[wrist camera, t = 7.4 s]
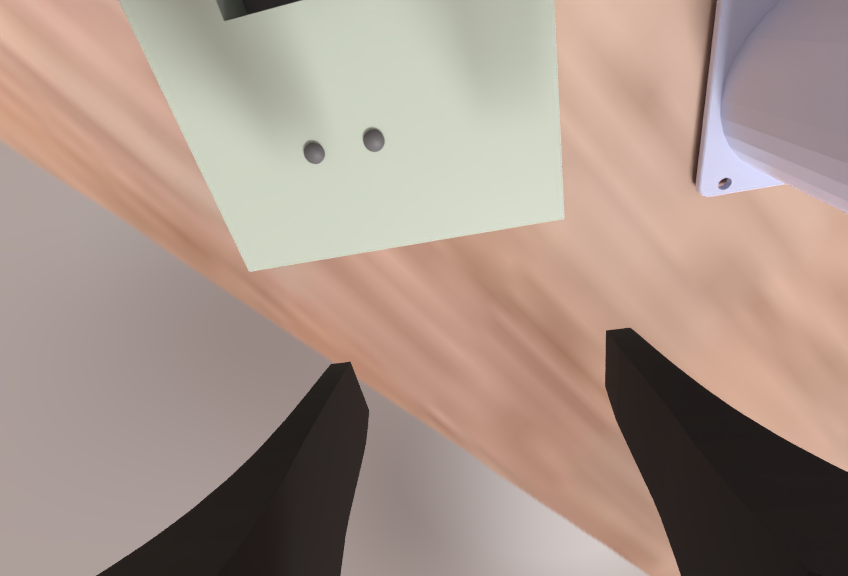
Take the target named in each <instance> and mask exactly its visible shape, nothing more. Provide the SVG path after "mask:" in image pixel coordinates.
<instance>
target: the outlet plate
mask: <svg viewBox="0 0 848 576" xmlns="http://www.w3.org/2000/svg"><path fill="white" fill-rule="evenodd" d="M119 2H120V4H121V6H122V8H123V11H124V13H125V15H126V17H127V19H128V21H129V23H130V25H131V27H132V29H133V31H134V33H135V35H136V38H137V40H138V42H139V44H140V46H141V48H142V50H143V52H144V54H145V56H146V58H147V60H148V62H149V65H150V67H151V69H152V71H153V73H154V75H155V77H156V79H157V81H158V83H159V85H160V87H161V89H162V92H163V94H164V96H165V98H166V100H167V102H168V104H169V106H170V108H171V110H172V112H173V114H174V117H175V119H176V121H177V123H178V125H179V127H180V129H181V131H182V133H183V135H184V137H185V139H186V141H187V144H188V146H189V148H190V150H191V152H192V154H193V156H194V158H195V160H196V162H197V164H198V166H199V168H200V171H201V173H202V175H203V177H204V179H205V181H206V183H207V185H208V187H209V189H210V191H211V193H212V195H213V198H214V200H215V202H216V204H217V206H218V208H219V210H220V212H221V214H222V216H223V218H224V220H225V222H226V225H227V227H228V229H229V231H230V233H231V235H232V237H233V239H234V241H235V243H236V245H237V247H238V249H239V252H240V254H241V256H242V258H243V260H244V262H245V264H246V266H247V268H248V270H249V272H251V271H257V270H263V269H269V268H275V267H281V266H287V265H293V264H299V263H305V262H311V261H317V260H323V259H329V258H335V257H341V256H346V255H352V254H358V253H364V252H370V251H376V250H382V249H388V248H394V247H400V246H406V245H412V244H418V243H424V242H430V241H436V240H442V239H448V238H454V237H460V236H466V235H472V234H478V233H484V232H490V231H496V230H502V229H508V228H513V227H519V226H525V225H531V224H537V223H543V222H549V221H555V220H561V219H564V200H563V179H562V157H561V136H560V114H559V93H558V71H557V50H556V28H555V7H554V0H119Z"/></svg>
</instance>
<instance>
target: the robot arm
mask: <svg viewBox="0 0 848 576" xmlns="http://www.w3.org/2000/svg"><path fill="white" fill-rule="evenodd" d="M724 178H727V180H726V183H725V184H724V185H723V186H720V187H718V184H719V182H720V181H721V180H722V179H724ZM783 184H787V185H790V186H792V187H794V188H796V189H798V190H800V191H802V192H804V193H806V194H808V195H810V196H812V197H814V198H816V199H818V200H820V201H822V202H824V203H826V204H828V205H830V206H832V207H835V208H837V209H839V210H841V211H843V212H845V213H847V214H848V0H717V5H716V14H715V22H714V31H713V39H712V48H711V57H710V65H709V74H708V83H707V91H706V100H705V108H704V117H703V126H702V134H701V143H700V152H699V160H698V169H697V177H696V190H697V192H698V193H699V194H701V195H703V196H705V197H711V196H717V195H723V194H729V193H735V192H741V191H747V190H753V189H759V188H765V187H771V186H777V185H783ZM605 387H606V390H607V393H608V396H609V400H610V403H611V406H612V409H613V412H614V415H615V418H616V421H617V423H618V425H619V427H620V429H621V432H622V434H623V436H624V438H625V440H626V442H627V445H628V447H629V449H630V451H631V453H632V455H633V457H634V460H635V462H636V464H637V466H638V468H639V470H640V472H641V474H642V477H643V479H644V481H645V483H646V485H647V487H648V489H649V492H650V494H651V496H652V498H653V500H654V503H655V505H656V507H657V510H658V512H659V515H660V517H661V520H662V523H663V525H664V528H665V531H666V534H667V537H668V539H669V542H670V545H671V548H672V550H673V553H674V556H675V559H676V562H677V565H678V568H679V571H680V574H681V576H848V472H846V471H844V470H842V469H840V468H838V467H836V466H834V465H832V464H830V463H828V462H826V461H824V460H822V459H821V458H819V457H817V456H815V455H813V454H811V453H809V452H807V451H805V450H804V449H802V448H800V447H798V446H796V445H794V444H792V443H791V442H789V441H787V440H785V439H783V438H782V437H780V436H778V435H776V434H775V433H773V432H771V431H770V430H768V429H766V428H765V427H763V426H761V425H760V424H758V423H756V422H755V421H753V420H751V419H750V418H748V417H747V416H745V415H743V414H742V413H740V412H739V411H737V410H736V409H734V408H733V407H731V406H730V405H728V404H727V403H725V402H724V401H722V400H721V399H720V398H718V397H717V396H715V395H714V394H712V393H711V392H710V391H708V390H707V389H706V388H704V387H703V386H701V385H700V384H699V383H697V382H696V381H695V380H694V379H692V378H691V377H690V376H688V375H687V374H686V373H685V372H683V371H682V370H681V369H679V368H678V367H677V366H676V365H674V364H673V363H672V362H671V361H669V360H668V359H667V358H666V357H665V356H663V355H662V354H661V353H660V352H659V351H657V350H656V349H655V348H654V347H653V346H651V345H650V344H649V343H648V342H647V341H646V340H644V339H643V338H642V337H641V336H640V335H639V334H637V333H636V332H635V331H634V330H632V329H631V328H624V329H616V330H607V331H606V372H605ZM368 418H369V409H368V407H367V404H366V401H365V398H364V396H363V393H362V391H361V388H360V385H359V383H358V380H357V378H356V375H355V372H354V370H353V367H352V365H351V362H345V363H337V364H331V365H330V366H329V367H328V368H327V370H326V371H325V372H324V373H323V374H322V376H321V377H320V378H319V379H318V381H317V382H316V383H315V384H314V386H313V387H312V388H311V389H310V391H309V392H308V393H307V394H306V396H305V397H304V398H303V399H302V400H301V402H300V403H299V404H298V405H297V407H296V408H295V409H294V410H293V411H292V413H291V414H290V415H289V416H288V417H287V419H286V420H285V421H284V422H283V423H282V424H281V425H280V426H279V428H278V429H277V430H276V431H275V432H274V433H273V434H272V435H271V436H270V438H269V439H268V440H267V441H266V442H265V443H264V444H263V445H262V446H261V447H260V448H259V449H258V450H257V451H256V452H255V454H253V456H252V457H250V458H249V459H248V460H247V461H246V462H245V463H244V464H243V465H242V466H241V467H240V468H239V469H238V470H237V471H236V472H235V473H234V474H233V475H232V476H231V477H229V478H228V479H227V480H226V481H225V482H224V483H222V484H221V485H220V486H219V487H218V488H217V489H215V490H214V491H213V492H212V493H211V494H209V495H208V496H207V497H206V498H205V499H204V500H202V501H201V502H200V503H199V504H198V505H197V506H195V507H194V508H193V509H191V510H190V511H189V512H188V513H186V514H185V515H184V516H182V517H181V518H180V519H178V520H177V521H176V522H175V523H173V524H172V525H171V526H169V527H168V528H166V529H165V530H164V531H162V532H161V533H160V534H158V535H157V536H156V537H154V538H153V539H151V540H150V541H148V542H147V543H146V544H144V545H143V546H141V547H140V548H138V549H137V550H135V551H134V552H132V553H131V554H129V555H127V556H126V557H124V558H123V559H122V560H120V561H118V562H117V563H115V564H114V565H112V566H111V567H109V568H108V569H107V570H105V571H103V572H101V573H100V574H98V575H97V576H340V574H341V565H342V559H343V551H344V543H345V536H346V530H347V525H348V520H349V515H350V511H351V507H352V502H353V498H354V494H355V489H356V485H357V481H358V477H359V472H360V468H361V463H362V459H363V454H364V450H365V445H366V438H367V429H368Z"/></svg>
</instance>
